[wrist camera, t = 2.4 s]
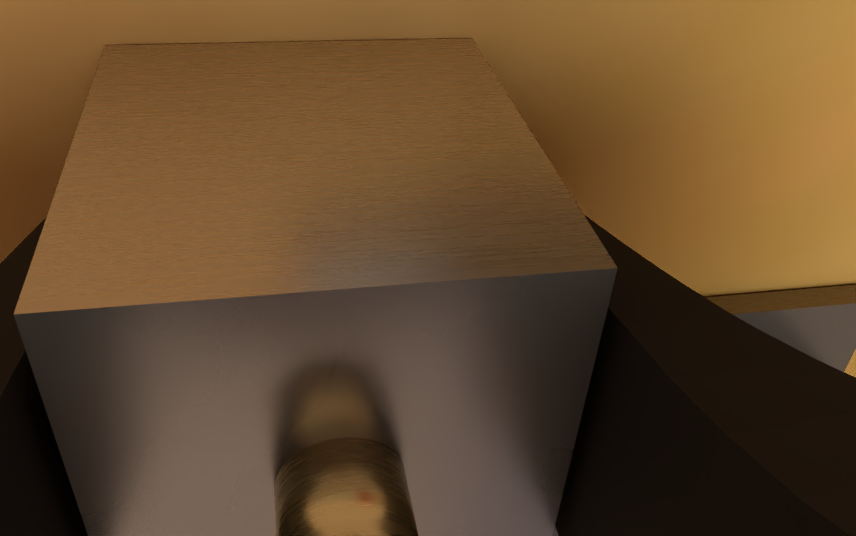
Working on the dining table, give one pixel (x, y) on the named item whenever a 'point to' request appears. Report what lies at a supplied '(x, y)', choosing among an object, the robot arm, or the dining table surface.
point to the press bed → (802, 320)
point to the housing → (312, 296)
